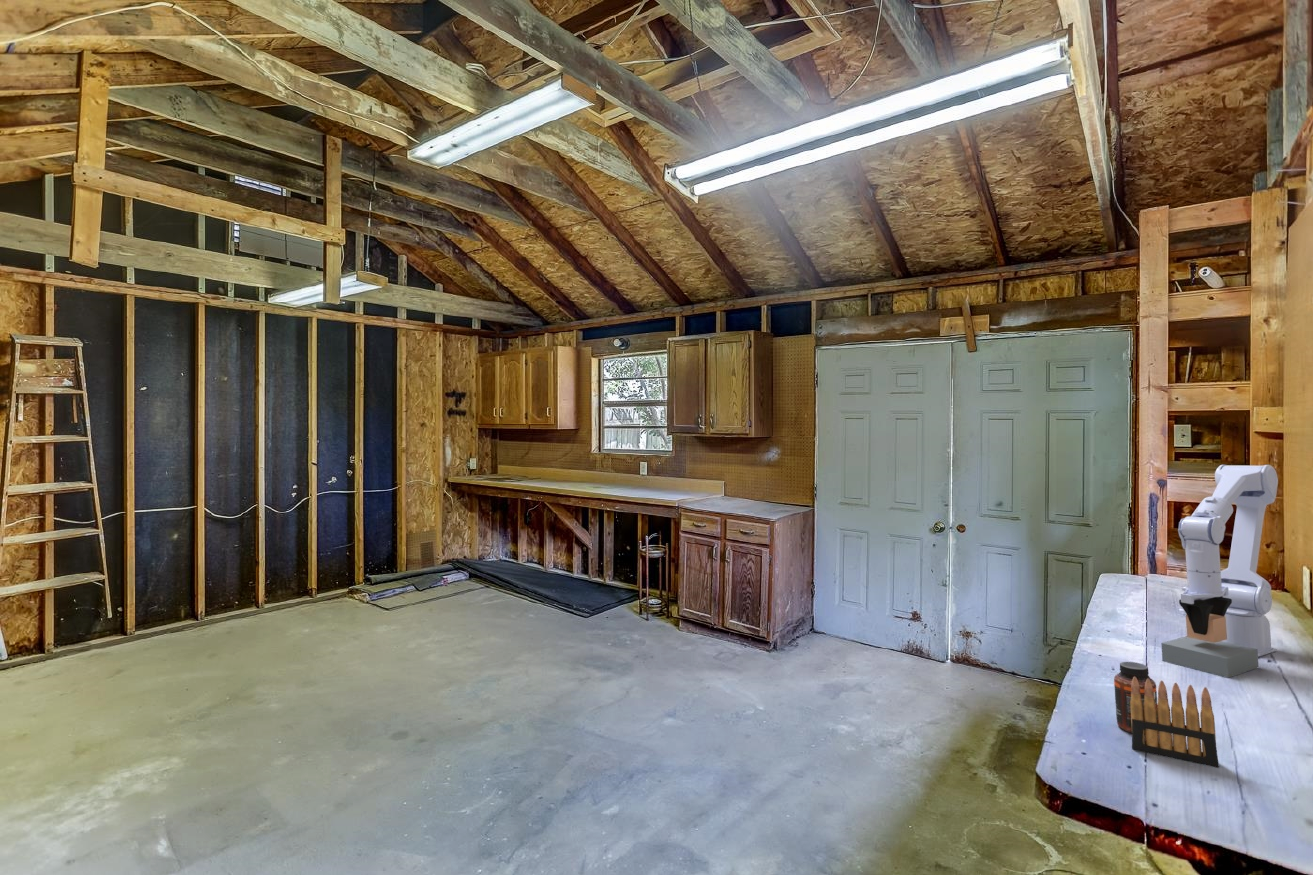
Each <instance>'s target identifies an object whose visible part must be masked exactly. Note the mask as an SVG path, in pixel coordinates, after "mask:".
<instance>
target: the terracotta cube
mask: <svg viewBox="0 0 1313 875" xmlns="http://www.w3.org/2000/svg"><path fill="white" fill-rule="evenodd" d="M1185 624H1186V636H1187V637H1190V638H1194V639H1199V640H1203V641H1208V642H1212V643H1216V642H1219V641H1223V640H1226V639H1227V630H1226V617H1225V616H1220V615H1214V614H1210V615H1209V620H1208V631H1207V634H1206V635H1202V634H1198V633H1194V631H1193V629H1192V626H1191V623H1190V621H1189V618H1188V616H1187V614H1185Z"/></svg>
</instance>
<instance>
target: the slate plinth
mask: <svg viewBox="0 0 1313 875" xmlns="http://www.w3.org/2000/svg"><path fill="white" fill-rule="evenodd" d="M1161 657H1162V658H1161V659H1162V662H1167V663H1170V664H1174V665H1179V666H1182V667H1186V668H1190V669H1193V670H1197V671H1201V672H1205V673H1208V674H1212V675H1216V676H1220V677H1224V678H1231V677H1234V676H1238V675H1240V674H1244V673H1245V672H1250V671H1252V669H1253V670H1255V668H1256V669H1258V668H1257V667H1259V665H1260V664H1259V657H1258V649H1255V648H1251V647H1246V646H1241V645H1237V644H1232V643H1228V642H1223V641H1219V642H1216V643H1212V642H1208V641H1203V640H1199V639H1194V638H1190V637H1187V635H1185V636H1181V637H1179V638H1175V639H1172V640H1168V641H1164V642H1161Z"/></svg>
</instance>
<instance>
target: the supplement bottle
mask: <svg viewBox="0 0 1313 875" xmlns="http://www.w3.org/2000/svg"><path fill="white" fill-rule="evenodd" d="M1134 676H1135V677H1136V678H1137V680H1138V683H1139V687H1140V694H1141V700H1142V704H1143V716H1144V695H1145V691H1144V690H1145V683H1146V680H1147V679H1149V680H1150V681H1151V684H1152V687H1153V692H1154V699H1155V704H1156V710H1157V705H1158V690H1157V684H1156V682H1155V680H1153V678H1151V677H1150V675H1149V667H1148V666H1147V665H1145V664H1143V663H1140V662H1136V661H1135V662H1133V661H1122V662H1120V663H1119V673H1117V674H1115V676H1114V678H1113V683H1114V685H1113V686H1114V699H1115V701H1114V704H1115V716H1116V724H1117V725H1118V727H1119V728H1120V729H1122V730H1124V731H1126V732H1128V733H1130V734H1132V723H1131V705H1130V701H1131V684H1132V680H1133V677H1134ZM1157 720H1158V713H1157ZM1144 730H1145V729H1144ZM1158 733H1159V731H1158Z"/></svg>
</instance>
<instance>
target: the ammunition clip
mask: <svg viewBox="0 0 1313 875" xmlns="http://www.w3.org/2000/svg"><path fill="white" fill-rule="evenodd" d="M1158 684H1159V685H1158V689H1157V710H1156V704H1155V699H1154V692H1153V687H1152V684H1151V681H1150V680H1149V679H1147V680H1146V683H1145V690H1144V691H1145V695H1144V716H1143V704H1142V700H1141V694H1140V687H1139V683H1138V680H1137V678H1136V677H1135V676H1134V677H1133V680H1132V684H1131V701H1130V705H1131V723H1132V733H1131V749H1132V750H1133V751H1135V752H1142V753H1146V754H1151V755H1156V756H1160V757H1165V758H1169V759H1174V760H1179V761H1183V762H1184V761H1185V762H1189V763H1193V764H1198V765H1204V766H1208V767H1212V768H1216V769H1219V767H1220V764H1219V756H1218V749H1217V737H1216V725H1215V723H1216V722H1215V715H1214V712H1213V706H1212V699H1211V695H1210V692H1209V691H1210V690H1208V688H1207V686H1204V688H1203V689H1202V692H1201V698H1200V699H1201V700H1200V701H1201V704H1200V707H1201V708H1200V709H1201V710H1200V713H1199V710H1198V704H1197V696H1196V693H1195V689H1194V688H1193V685H1191V684H1189V685H1188V687H1187V690H1186V708H1185V710H1184V707H1183V706H1184V705H1183V700H1182V692H1181V689H1180V686H1179V685H1178V683H1177V682H1174V684H1173V686H1172V690H1171V707H1170V704H1169V699H1168V697H1169V696H1168V691H1167V688H1166V684H1165V683H1164V681H1163V680H1160V682H1159V683H1158ZM1157 713H1158V720H1157ZM1144 729H1145V730H1144ZM1158 731H1159V732H1158Z"/></svg>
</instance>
